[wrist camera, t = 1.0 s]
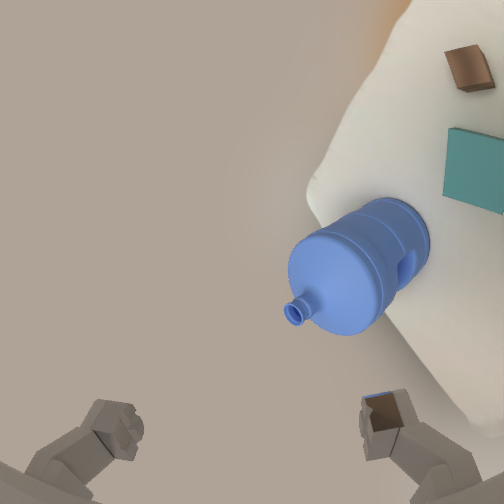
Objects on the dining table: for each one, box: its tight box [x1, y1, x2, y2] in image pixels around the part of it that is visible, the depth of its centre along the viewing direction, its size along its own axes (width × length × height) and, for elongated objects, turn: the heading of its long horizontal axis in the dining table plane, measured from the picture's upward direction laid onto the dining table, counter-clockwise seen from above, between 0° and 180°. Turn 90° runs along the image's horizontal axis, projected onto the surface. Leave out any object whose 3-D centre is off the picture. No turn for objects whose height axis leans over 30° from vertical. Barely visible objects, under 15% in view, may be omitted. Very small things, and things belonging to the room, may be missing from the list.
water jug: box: [284, 198, 429, 336], centre depth 46 cm, size 16×16×28 cm
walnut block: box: [444, 45, 496, 92], centre depth 29 cm, size 5×5×8 cm
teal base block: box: [442, 128, 504, 215], centre depth 35 cm, size 10×10×5 cm
